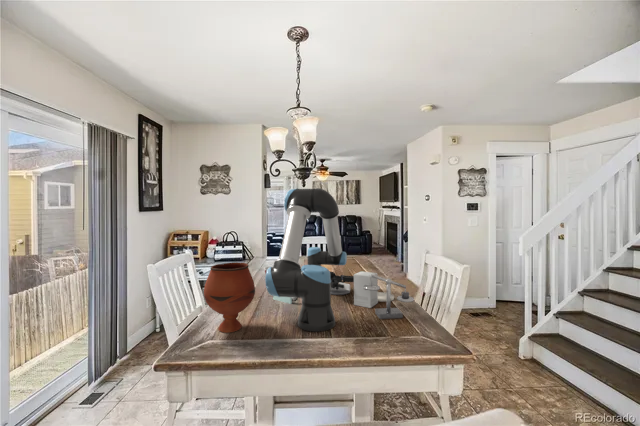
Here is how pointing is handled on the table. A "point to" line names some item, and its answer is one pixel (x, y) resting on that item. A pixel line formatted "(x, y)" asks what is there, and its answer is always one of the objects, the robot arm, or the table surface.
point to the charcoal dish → (339, 291)
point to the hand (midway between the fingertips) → (358, 284)
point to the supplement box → (362, 295)
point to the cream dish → (383, 297)
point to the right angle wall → (284, 299)
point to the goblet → (229, 292)
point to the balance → (389, 299)
